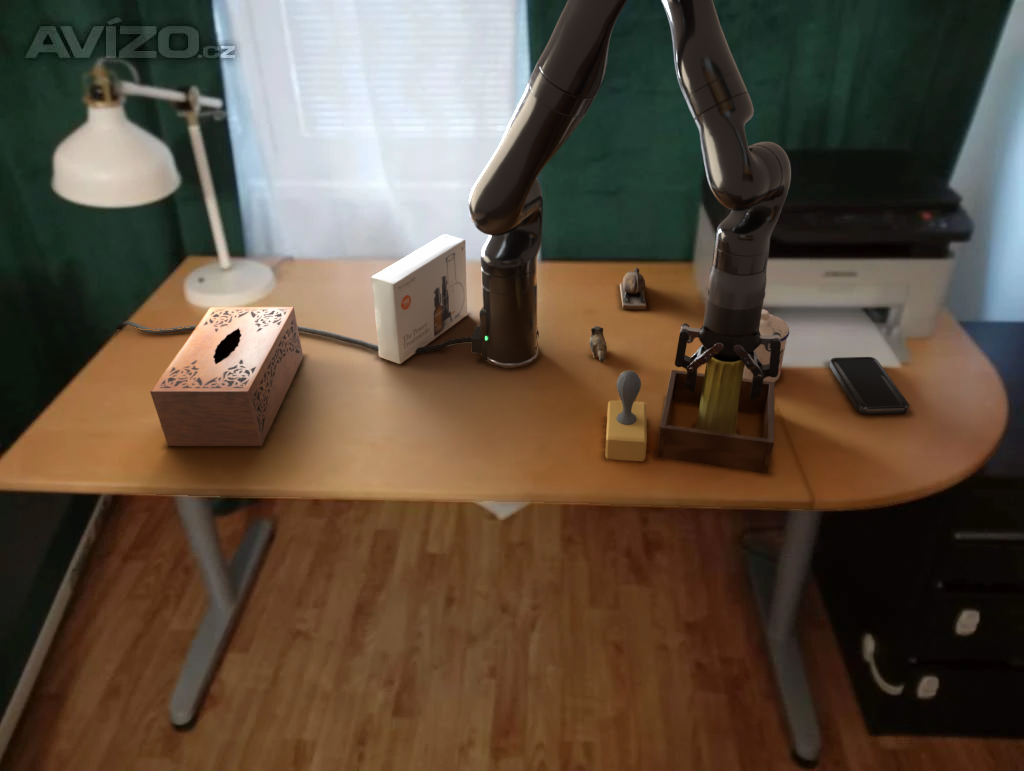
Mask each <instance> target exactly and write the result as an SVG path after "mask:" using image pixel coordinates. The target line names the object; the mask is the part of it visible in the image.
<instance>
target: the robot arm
mask: <svg viewBox="0 0 1024 771" xmlns="http://www.w3.org/2000/svg"><path fill="white" fill-rule="evenodd" d="M627 2H628V0H567V1H566V3H565V6H564V7H563V9H562V11H561V14H560V16H559V18H558V20H557V22H556V24H555V26H554V29H553V31H552V33H551V35H550V38H549V40H548V42H547V44H546V45H545V47H544V49H543V51H542V53H541V55H540V57H539V58H538V60H537V63H536V64H535V67H534V69H533V71H532V72H531V74H530V76H529V79H528V81H527V83H526V86H525V87H524V90H523V92H522V95H521V97H520V99H519V101H518V103H517V105H516V108H515V109H514V112H513V114H512V116H511V118H510V120H509V122H508V125H507V126H506V129H505V132H504V134H503V136H502V139H501V141H500V143H499V144H498V146H497V148H496V150H495V152H494V153H493V155H492V156H491V158H490V160H489V161H488V163H487V164H486V166H485V168H484V169H483V171H481V173H480V175H479V177H478V178H477V180H476V181H475V183H474V185H473V186H472V188H471V189H470V190H471V191H470V193H469V197H468V212H469V217H470V219H471V222H472V223H473V225H474V227H475V228H476V230H478V231H479V232H480V233H483V234H484V235H487V236H488V237H487V239H486V240H485V242H484V244H483V245H482V247H481V251H480V271H481V272H480V274H481V294H482V295H481V297H482V307H481V308H480V310H479V313H478V314H479V325H475V328H474V330H473V333H472V335H471V336H466V337H465V336H464V337H457V338H452V339H448V340H446V341H444V342H441V343H439V344H433V345H428V346H424V347H421V348H417V349H416V351H415V354H422V353H430V352H436V351H440V350H443V349H445V348H448V347H449V346H452V345H459V344H470V346H471V347H470V348H471V354H481V361H486V362H488V363H489V364H490V365H493V366H495V367H498V368H503V369H519V368H523V367H526V366H529V365H531V364H532V363H534V362H535V361H536V360H537V359H538V357H539V346H538V345H539V339H540V330H539V327H538V255H539V252H540V250H541V246H542V241H543V240H542V239H543V215H544V199H543V198H544V197H543V192H542V190H543V189H542V187H541V183H540V181H539V179H538V177H539V175H540V174H541V172H542V171H543V169H544V167H545V166H546V165H547V164H548V163H549V162H550V160H551V159H552V158H553V157H554V156H555V155H556V154H557V153H558V152H559V150H561V148H562V147H563V145H564V144H565V143H566V142H567V141H568V140H569V139H570V137H571V136H572V135H573V134H574V132H575V131H576V129H577V128H578V127H579V126H580V124H581V123H582V122H583V120H584V118H585V116H586V115H587V114H588V112H589V110H590V108H591V106H592V105H593V102H594V101H595V99H596V98H597V96H598V94H599V92H600V90H601V87H602V85H603V83H604V81H605V78H606V74H607V70H608V63H609V56H610V45H611V39H612V34H613V30H614V28H615V25H616V23H617V20H618V19H619V17H620V15H621V13H622V11H623V9H624V7H625V6H626V4H627ZM660 2H661V3H662V6H663V8H664V11H665V13H666V16H667V20H668V24H669V27H670V33H671V40H672V52H673V61H674V69H675V73H676V78H677V82H678V85H679V88H680V91H681V93H682V95H683V98H684V101H685V102H686V105H687V107H688V110H689V112H690V114H691V116H692V119H693V120H694V123H695V125H696V127H697V129H698V132H699V139H700V148H701V153H702V154H701V155H702V159H703V160H702V161H703V164H704V165H703V166H704V171H705V176H706V180H707V184H708V186H709V189H710V191H711V193H712V194H713V196H714V198H715V199H716V200H717V201H718V202H719V203H720V205H722V206H723V207H725V208H726V209H728V210H731V211H730V213H729V214H728V215H727V216H726V217H725V218H724V219H723V220H722V221H720V222H719V224H718V226H717V228H716V232H715V236H714V244H713V254H712V262H711V267H710V271H709V275H708V280H707V286H706V299H705V307H704V316H703V324H702V326H701V327H700V328H698V327H697V328H696V327H692V326H691V327H690V324H688V323H687V322H685V323H682V324H681V325H680V330H679V334H678V335H679V336H678V341H677V348H676V352H675V353H676V354H675V360H674V366H675V367H676V368H684V369H685V370H686V372H687V378H686V388H687V389H690V393H695V387H696V379H697V373H698V369H699V368H700V367H701V366H702V365H706V362H708V361H709V360H710V359H711V358H712V357H714V358H715V359H717V360H720V361H730V362H735V361H738V360H740V359H741V360H742V361H743V363H744V364H745V366H746V367H747V369H748V370H750V371H751V372H752V374H753V378H752V385H751V391H750V400H755V397H759V396H760V395H761V391H762V385H763V380H764V378H766V377H772V378H775V377H777V376H778V369H779V359H780V349H781V334H780V333H778V332H775V333H773V334H772V335H761V334H760V332H759V327H760V320H761V314H762V309H763V306H764V300H765V298H766V288H767V267H768V261H769V255H770V248H771V240H772V235H773V233H774V230H775V228H776V226H777V223H778V221H779V218H780V216H781V213H782V211H783V207H784V205H785V202H786V199H787V197H788V194H789V190H790V186H791V180H792V167H791V161H790V159H789V156H788V154H787V152H786V150H784V148H783V147H782V146H780V145H779V144H777V143H776V142H773V141H760V142H756V143H753V144H750V145H748V144H749V143H748V139H747V135H746V130H745V126H746V125H747V124H749V122H750V121H751V120H752V119H753V117H754V115H755V109H754V104H753V101H752V98H751V95H750V93H749V92H748V89H747V87H746V84H745V81H744V80H743V77H742V75H741V73H740V70H739V68H738V65H737V63H736V61H735V59H734V57H733V54H732V52H731V50H730V46H729V44H728V42H727V39H726V37H725V33H724V31H723V28H722V26H721V23H720V20H719V16H718V13H717V9H716V7H715V4H714V0H660ZM125 325H126V326H125ZM127 325H130V326H133V327H136V328H141V329H151V328H152V327H147V326H144V325H141V324H139V323H137V322H134V321H130V320H124V321H121V322H120V323H119V324H117V326H116V330H122V329H124V328H125V327H128V326H127ZM197 325H198V324H193V325H185V326H184V325H183V326H184V328H182V327H183V326H178V327H177V326H175V327H167V328H164V329H165V330H162V329H163V328H153V329H154V330H157V329H158V330H160V331H153V330H140V329H136V328H134V329H135V330H137V331H141V332H143V333H146V334H154V335H155V334H156V335H161V334H163V335H164V334H175V333H183V332H184V333H185V332H190V331H191V332H193V331H194V330H195V328H196V327H197ZM130 326H129V327H130ZM195 326H196V327H195ZM133 327H132V328H133ZM185 327H190V328H185ZM297 327H298V332H299V333H300V332H301V333H306V334H310V335H316V336H321V337H326V338H329V339H333V340H338V341H341V342H345V343H349V344H351V345H352V344H353V345H357V346H360V347H362V348H363V347H364V348H367V349H369V350H373V351H376V352H379V350H378V344H374V343H371V342H368V341H364V340H362V339H357V338H354V337H349V336H346V335H342V334H338V333H334V332H330V331H325V330H321V329H316V328H312V327H307V326H300V325H297ZM177 328H182V329H177ZM166 329H173V330H166ZM696 338H698V340H699V342H700V343H701V344H702V345H700V346H699V347H698V348H697V350H696V352H694V353H693V354H692V355H691V356H688V355H686V350H687V347H688V346H687V345H688V344H692V343H693V342H694V340H695V339H696ZM760 344H763V345H764V346H765V349H766V350H767V351H768V352H770V361H769V364H766V365H763V364H762V363H761V361H760V360H759V358H758V357H757V354H756V352H755V351H754V350H755V349H756V348H757V347H759V345H760Z"/></svg>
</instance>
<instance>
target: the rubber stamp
mask: <svg viewBox="0 0 1024 771" xmlns="http://www.w3.org/2000/svg"><path fill="white" fill-rule="evenodd" d="M616 380H617V381H616V390H617V394H618V396H619V397H620V400H614V399H613V400H612V399H611V400H609V401H608V402H607V414H606V432H605V433H606V434H605V451H604V452H605V453H604V456H605V458H606V460H615V461H616V460H617V461H630V462H631V461H633V462H644V461H645V460H646V454H647V444H648V443H647V442H648V439H647V438H648V437H647V436H648V434H647V433H648V430H647V428H648V427H647V426H648V425H647V422H648V421H647V404H646V402H645V401H636V399H637V398H638V396H639V393H640V392H641V387H642V380H641V377H640V376H639V374H638V373H637V372H635V371H633V370H625V371H623V372H621V373H620V374H619V376H618V378H617V379H616Z"/></svg>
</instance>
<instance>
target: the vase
mask: <svg viewBox="0 0 1024 771" xmlns="http://www.w3.org/2000/svg"><path fill="white" fill-rule="evenodd" d="M744 366H745V364H744V363H743V361H742V360H741V359H740V360H738V361H735V362H730V361H720V360H717V359H715V358H714V357H712V358H711V359H710V360H709V361H708V362H706V363H705V370H704V374H705V376H704V382H703V388H702V395H701V401H700V405H699V406H698V407H699V408H698V412H697V418H696V424H695V427H694V429H699V430H707V431H714V432H722V433H729V434H736V435H737V423H738V414H739V410H738V403H739V397H740V390H741V384H742V378H743V372H744Z"/></svg>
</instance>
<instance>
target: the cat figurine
mask: <svg viewBox="0 0 1024 771" xmlns="http://www.w3.org/2000/svg"><path fill="white" fill-rule="evenodd" d="M590 331H591V332H590V338H589V345H590V352H591V353H592V357H593V358H594V359H595V358H596V359H597V357H598V360H599V362H600V363H604V362H605V361H606V354H607V351H608V346H607V341H606V339H605V336H604V327H601V326H598V325H597V326H596V325H595V326H593V327H591V329H590Z"/></svg>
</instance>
